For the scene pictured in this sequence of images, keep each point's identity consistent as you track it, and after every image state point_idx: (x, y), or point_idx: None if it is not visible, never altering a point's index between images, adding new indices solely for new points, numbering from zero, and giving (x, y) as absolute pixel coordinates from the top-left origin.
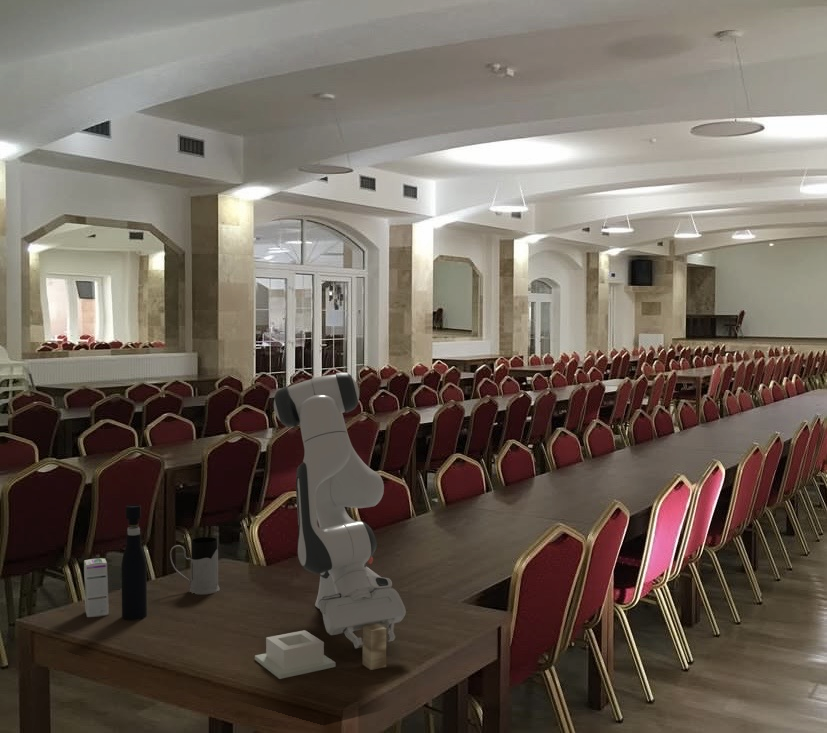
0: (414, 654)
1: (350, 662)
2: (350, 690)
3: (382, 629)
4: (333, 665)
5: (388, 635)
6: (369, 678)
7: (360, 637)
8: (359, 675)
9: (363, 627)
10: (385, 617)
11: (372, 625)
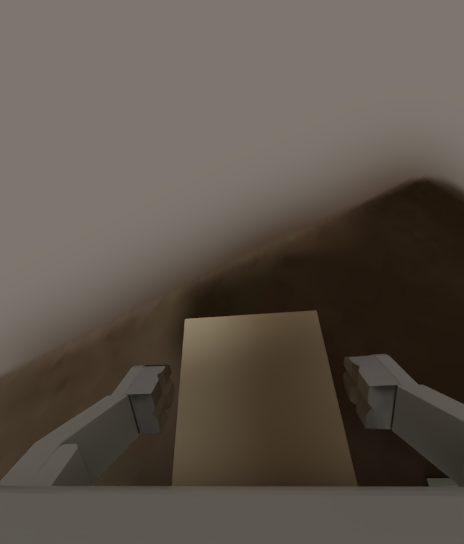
0: None
1: None
2: (391, 246)
3: (217, 317)
4: (443, 481)
5: (159, 385)
6: (314, 295)
7: (372, 386)
8: (339, 331)
9: (352, 466)
10: (50, 495)
11: (248, 455)
